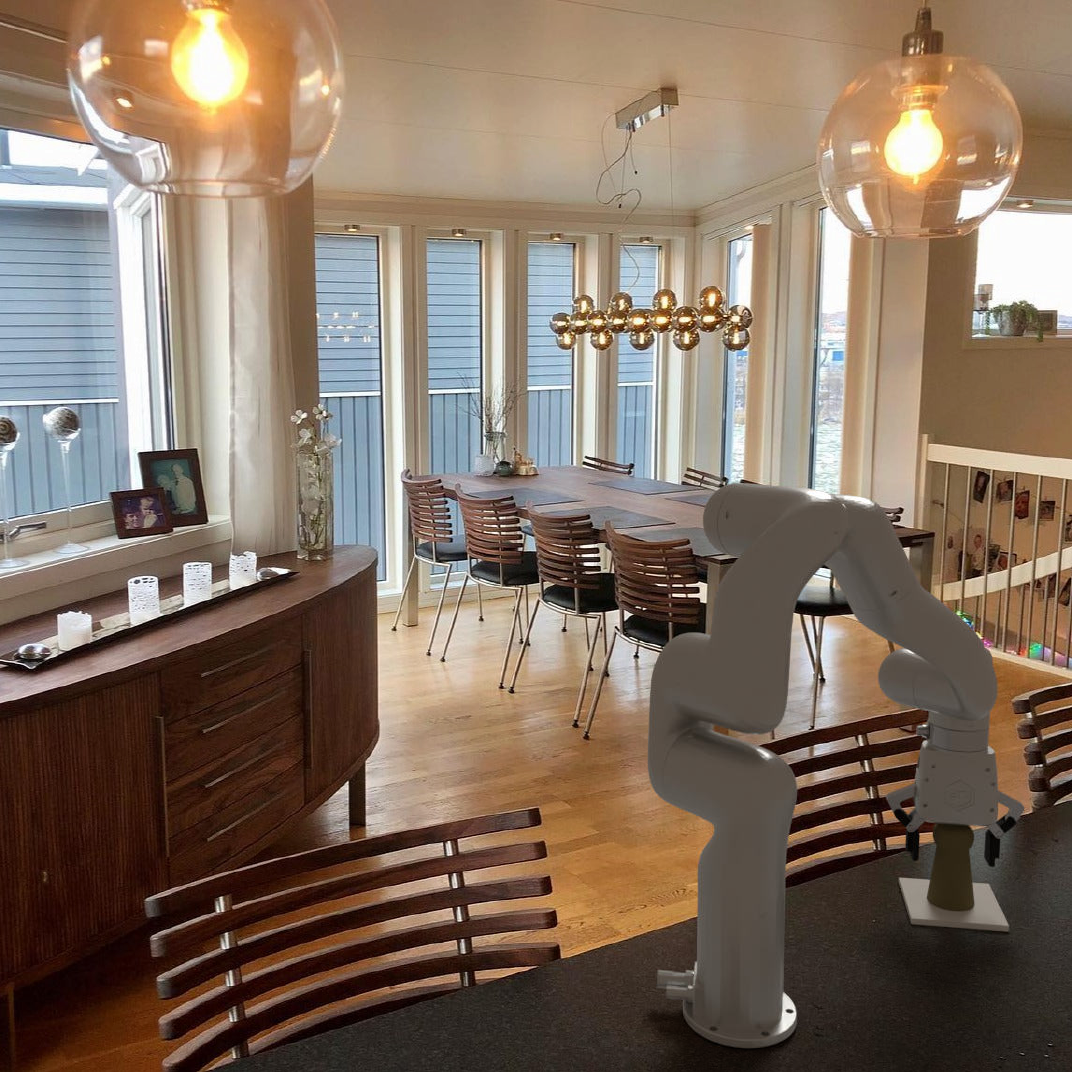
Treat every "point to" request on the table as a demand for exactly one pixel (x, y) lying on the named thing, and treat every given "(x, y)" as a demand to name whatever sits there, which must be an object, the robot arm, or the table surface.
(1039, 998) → the table surface
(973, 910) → the tile
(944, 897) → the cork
